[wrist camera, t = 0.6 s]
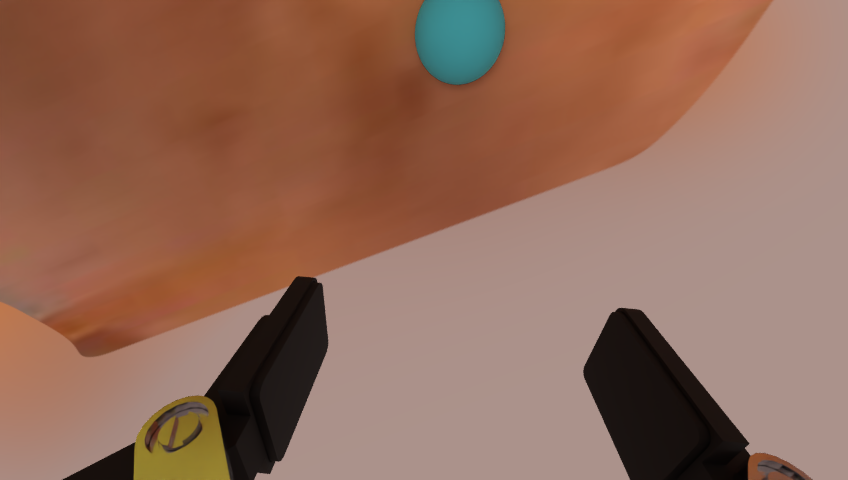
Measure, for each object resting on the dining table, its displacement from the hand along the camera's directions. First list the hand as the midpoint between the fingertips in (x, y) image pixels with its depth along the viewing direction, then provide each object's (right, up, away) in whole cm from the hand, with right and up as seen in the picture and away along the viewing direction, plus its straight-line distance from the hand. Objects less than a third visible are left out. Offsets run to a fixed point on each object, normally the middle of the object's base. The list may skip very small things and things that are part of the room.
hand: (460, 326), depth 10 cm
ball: (+1, +17, +11) cm, 20 cm away
